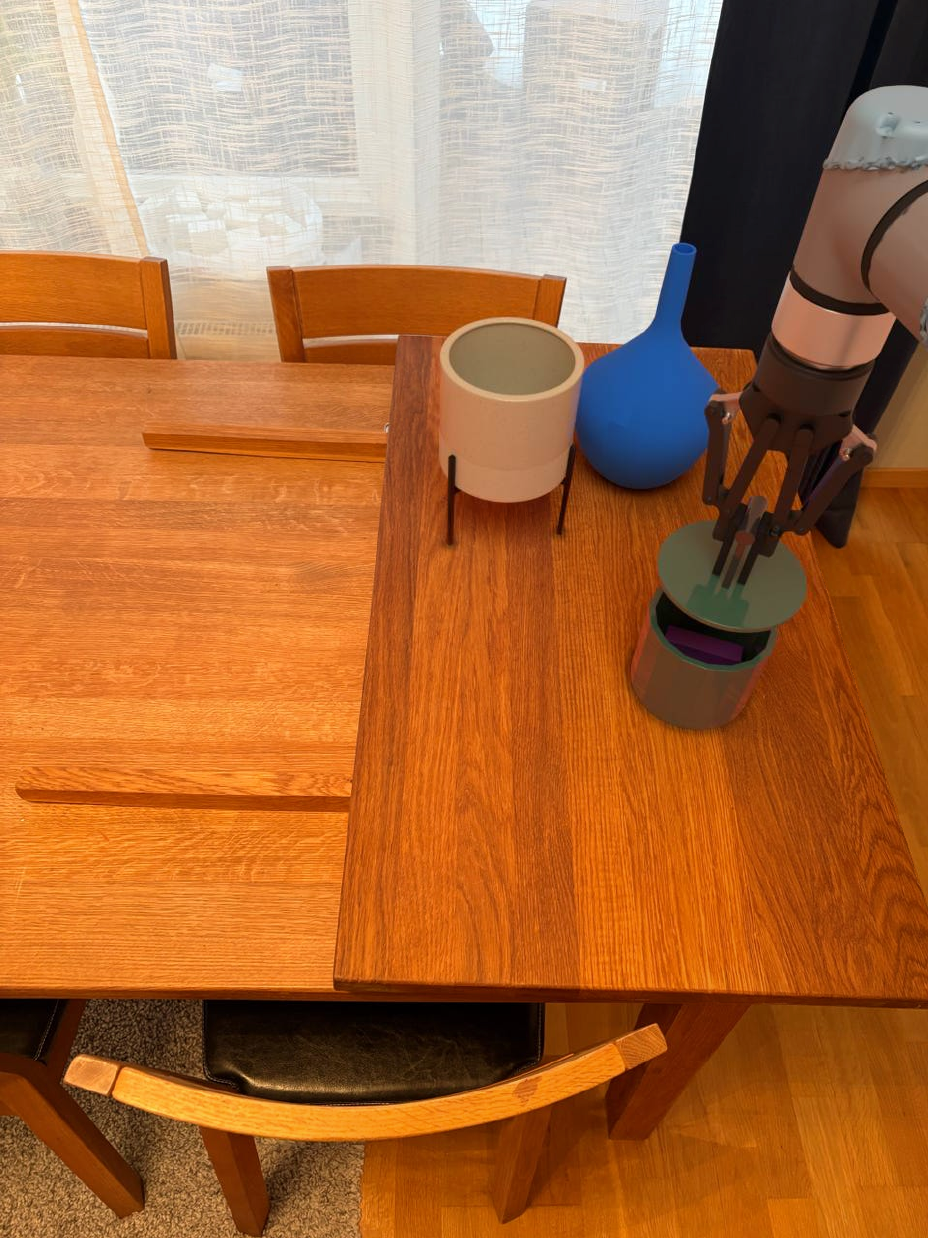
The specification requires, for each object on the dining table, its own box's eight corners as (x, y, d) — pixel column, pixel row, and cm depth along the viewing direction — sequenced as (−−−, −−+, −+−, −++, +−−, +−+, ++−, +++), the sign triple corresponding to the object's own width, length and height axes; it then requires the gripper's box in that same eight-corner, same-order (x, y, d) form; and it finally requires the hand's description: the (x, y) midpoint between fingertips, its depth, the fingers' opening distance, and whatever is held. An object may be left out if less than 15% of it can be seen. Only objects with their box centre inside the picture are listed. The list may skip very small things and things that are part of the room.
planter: (543, 466, 114) (564, 308, 96) (572, 552, 104) (601, 394, 86) (430, 476, 112) (429, 316, 94) (448, 565, 102) (451, 405, 84)
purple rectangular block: (730, 684, 91) (733, 668, 93) (740, 661, 88) (743, 646, 90) (656, 662, 93) (660, 647, 94) (664, 639, 90) (668, 624, 91)
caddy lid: (816, 557, 82) (850, 490, 75) (784, 659, 74) (818, 594, 67) (679, 511, 85) (700, 443, 79) (634, 603, 77) (653, 536, 71)
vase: (544, 434, 118) (572, 218, 95) (664, 412, 122) (718, 200, 99) (597, 524, 107) (643, 305, 84) (727, 496, 111) (804, 280, 88)
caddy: (758, 661, 94) (789, 599, 86) (729, 748, 87) (759, 689, 79) (651, 621, 97) (671, 557, 89) (614, 701, 90) (632, 640, 82)
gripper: (938, 344, 60) (821, 569, 79) (734, 289, 64) (667, 517, 82) (924, 401, 56) (803, 626, 74) (706, 339, 60) (642, 567, 78)
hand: (732, 568), depth 78 cm, fingers closed on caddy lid, 2 cm apart
